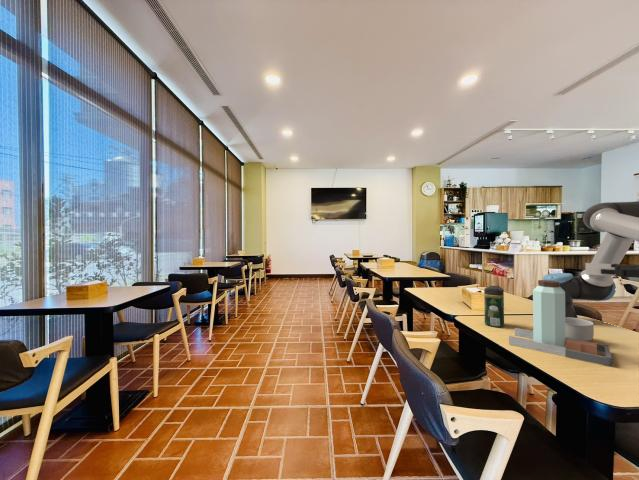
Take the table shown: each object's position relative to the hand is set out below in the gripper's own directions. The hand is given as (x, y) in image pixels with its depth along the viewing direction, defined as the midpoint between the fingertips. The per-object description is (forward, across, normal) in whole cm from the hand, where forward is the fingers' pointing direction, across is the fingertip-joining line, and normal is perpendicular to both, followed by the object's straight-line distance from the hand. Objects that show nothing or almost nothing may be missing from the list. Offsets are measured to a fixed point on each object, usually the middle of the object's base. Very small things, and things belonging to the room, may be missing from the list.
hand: (585, 268), depth 98 cm
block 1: (+3, -1, -31) cm, 31 cm away
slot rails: (+13, 0, -31) cm, 33 cm away
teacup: (+4, +17, -31) cm, 36 cm away
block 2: (-1, 0, -31) cm, 31 cm away
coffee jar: (+31, +17, -31) cm, 48 cm away
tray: (0, 0, -31) cm, 31 cm away
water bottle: (+10, 0, -31) cm, 32 cm away
